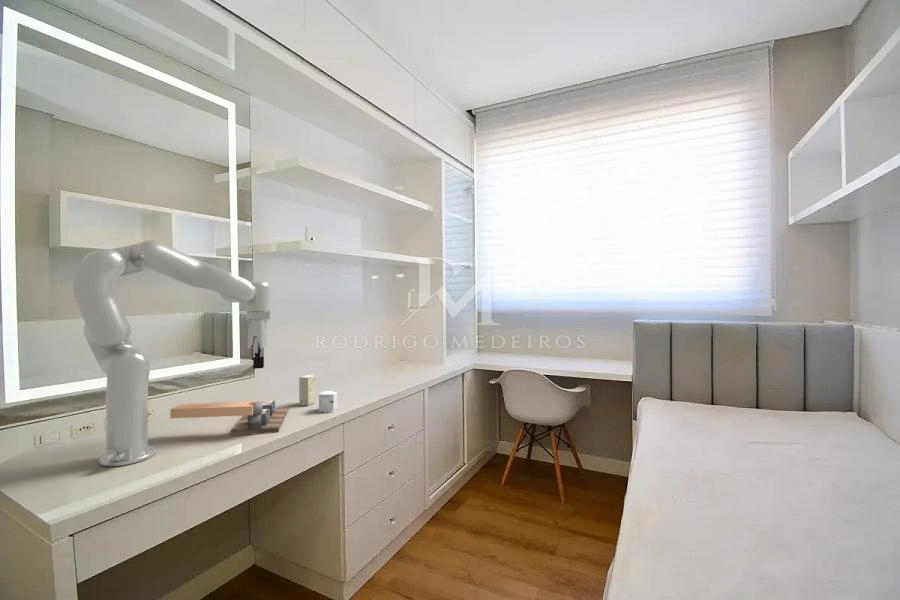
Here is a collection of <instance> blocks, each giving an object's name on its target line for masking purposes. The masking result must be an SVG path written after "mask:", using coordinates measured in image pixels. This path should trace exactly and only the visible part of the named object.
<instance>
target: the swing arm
mask: <svg viewBox="0 0 900 600" xmlns="http://www.w3.org/2000/svg"><path fill="white" fill-rule="evenodd" d="M169 412H170V415H169V416H170V417H169V418H170V419H189V418H191V419H192V418H193V419H194V418H218V417H239V416H241V417H243V416H247V415H253V414H259V413H262V412H263V403H262V402H261V401H260V400H259V401H258V400H253V401H251V400H250V401H248V400H247V401H221V402H220V401H219V402H196V403H195V402H194V403H193V402H191V403H189V402H188V403H187V402H186V403H179V404H178V405H176V406H173V407H172V408H170V410H169Z"/></svg>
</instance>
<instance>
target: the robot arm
mask: <svg viewBox="0 0 900 600" xmlns="http://www.w3.org/2000/svg"><path fill="white" fill-rule="evenodd" d="M75 270H76V271H75V273H74V274H73V278H72V286H71V289H72V294H73V297H74V300H75V303H76V305H77V307H78V309H79V312H80V314H81V317H82V319H83V320H84V325H83V334H84V337H85V340H86V342H87V344H88V347H89V348H90V350H91V352H92V354H93V356H94V358H95V360H96V362H97V365H98V366H99V368H100V369H101V370H102V372H103V373H104V374H105V375H106V389H105V413H106V414H105V421H106V422H105V424H106V425H105V429H106V430H105V431H106V432H105V435H106V437H105V438H106V439H105V440H106V441H105V444H106V449H105V450H106V453H105V454H104V455H102V456H101V457H99V460H98V463H99V464H98V465H100V466H103V467H119V466H126V465H132V464H136V463H139V462H142V461H145V460H147V459H149V458H151V457H153V456H154V455H155V451H156V449H155V448H154V447H152V446H150V445H149V379H150V372H151V370H150V369H151V365H150V360H149V359H148V357H147V355H146V354H145V353H144V352H142V351H141V350H139V349H137V348H136V347H135V346H134V343H133V341H132V339H131V334H132V327H131V324H130V322H129V321H128V319H127V317H126V315H125V313H124V311H123V309H122V307H121V305H120V303H119V301H118V298H117V296H116V293H115V282H116V280H117V279H118V278H119V277H125V276H128V275H132V274H137V273H142V272H145V271H149V270H151V271H154V272H155V273H158V274H160V275H163V276H165V277H168V278H170V279H172V280H174V281H177V282H180V283H182V284H185V285H187V286H190V287H194V288H200V289H205V290H209V291H213V292H215V293H217V294H219V296H220V297H221V298H222V299H223V300H224V301H225V302H228V303H234V304H235V303H237V304H238V303H240V304H243V303H246V321H247V322H248V327H247V328H248V330H247V349H248V350H251V349H252V351H253V352H252V353H253V358H252V362H253V364H252V366H253V367H252V368H253V369H254V370H255V369H256V370H257V369H264V367H265V356H264V353H265V352H264V351H265V348H266V347H267V345H268V321H271V292H270V291H271V287H270V284H269V282H266V281H249V280H248V279H245V278H243V277H241V276H239V275H237V274H235V273H232V272H231V271H229V270H228V271H227V270H225V269H222V268H221V267H220V268H219V267H218V266H215V265H213V264H210V263H207V262H204V261H201V260H200V259H197V258H194V257H193V256H191V255H188V254H186V253H185V252H182V251H180V250H177V249H176V248H174V247H171V246H169V245H167V244H165V243H163V242H160V241H157V240H153V239H152V240H151V239H149V240H145V241H142V242H138V243H134V244H130V245H125V246H120V247H115V248H100V249H97V250H94V251H92V252H89V253H87V254H85V256H84V257H83V259H82V260H81V263H80V264H79V265H78V267H77V268H76V269H75Z"/></svg>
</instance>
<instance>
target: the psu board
mask: <svg viewBox="0 0 900 600" xmlns="http://www.w3.org/2000/svg"><path fill="white" fill-rule="evenodd" d="M260 402H262V403H263V412H262V413H259V414H253V415H247V416H241V418H240V419H239V420H238V422H236V424H235V425H234V426H233V427H232V429H231V430H230V436H242V435H241V434H245V435H253V434H252V433H258V434H266V433H265V432H271V433H280V431H281V428H282V426H283V424H284V422H285V420H284V419H286V418H285V417H287V415H288V413H289V407H281V408H279V407H278V408H276V400H265V401H260ZM283 421H284V422H283Z"/></svg>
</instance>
